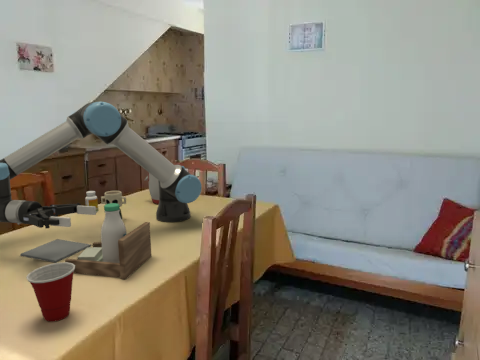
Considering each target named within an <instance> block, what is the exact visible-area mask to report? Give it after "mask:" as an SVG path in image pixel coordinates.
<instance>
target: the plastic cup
mask: <svg viewBox="0 0 480 360" xmlns="http://www.w3.org/2000/svg"><path fill="white" fill-rule="evenodd" d="M74 269H75V265H74V264H73V263H68V262H65V261H63V262H57V263H54V262H53V263H50V264H49V263H48V264H46V265H43V266H41V267H37V268H35V269H34V270H32V271H30V272H29V273H28V274H27V275H26V276H25V277H26V280H27V282H28V283H30V285H31V287H32V289H33V291H34V295H35V298H36V300H37V302H38V307H39V309H40V312H41V314H42V317H43V319H44V320H45V321H46V322H58V321H61V320H64V319H65V318H68V316H69V314H70V311H71V301H72V293H73V292H72V291H73V280H74V273H73V272H74Z"/></svg>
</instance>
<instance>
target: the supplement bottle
mask: <svg viewBox="0 0 480 360" xmlns="http://www.w3.org/2000/svg"><path fill="white" fill-rule="evenodd" d="M84 200H85V201H84V202H85V206H95V207H96V213H98V212H99V205H98V202H99V201H98V196H97V195H96V191H95V190H88V191H86V197H85V198H84Z"/></svg>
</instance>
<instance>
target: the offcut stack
mask: <svg viewBox="0 0 480 360" xmlns="http://www.w3.org/2000/svg"><path fill="white" fill-rule="evenodd" d="M77 260H89V261H101V262H103V256H102V247H93V246H91V247H87V248H86V249H85V250H82V251H81V253H80V254H79V255H78V256H77Z"/></svg>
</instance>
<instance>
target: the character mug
mask: <svg viewBox="0 0 480 360" xmlns="http://www.w3.org/2000/svg"><path fill="white" fill-rule="evenodd" d="M103 194H104V196H102V195H101V196H100V203H101V205H106V204H110V203H117V204H119V206H120V211H119V214H120V217H121V219H122V220H123V214H122V209H121V207H122V206H123V205H126V204H127V197H126V196H123V193H122V191H120V190H110V191H109V190H108V191H105V192H104V193H103Z"/></svg>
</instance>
